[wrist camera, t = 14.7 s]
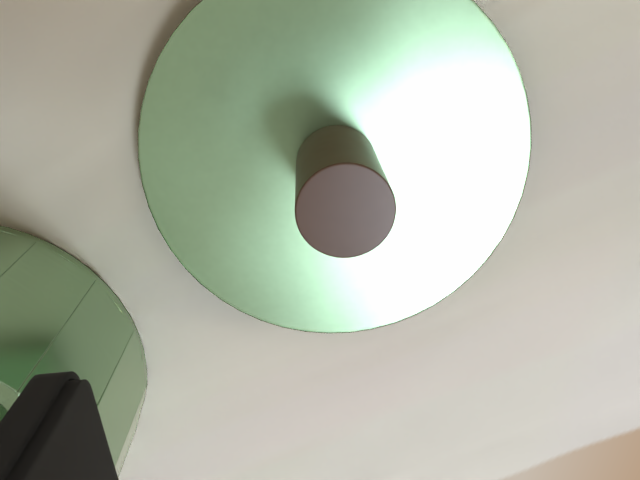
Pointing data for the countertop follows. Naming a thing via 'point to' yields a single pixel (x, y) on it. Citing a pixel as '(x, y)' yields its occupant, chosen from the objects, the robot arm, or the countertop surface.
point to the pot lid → (334, 154)
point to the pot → (68, 333)
